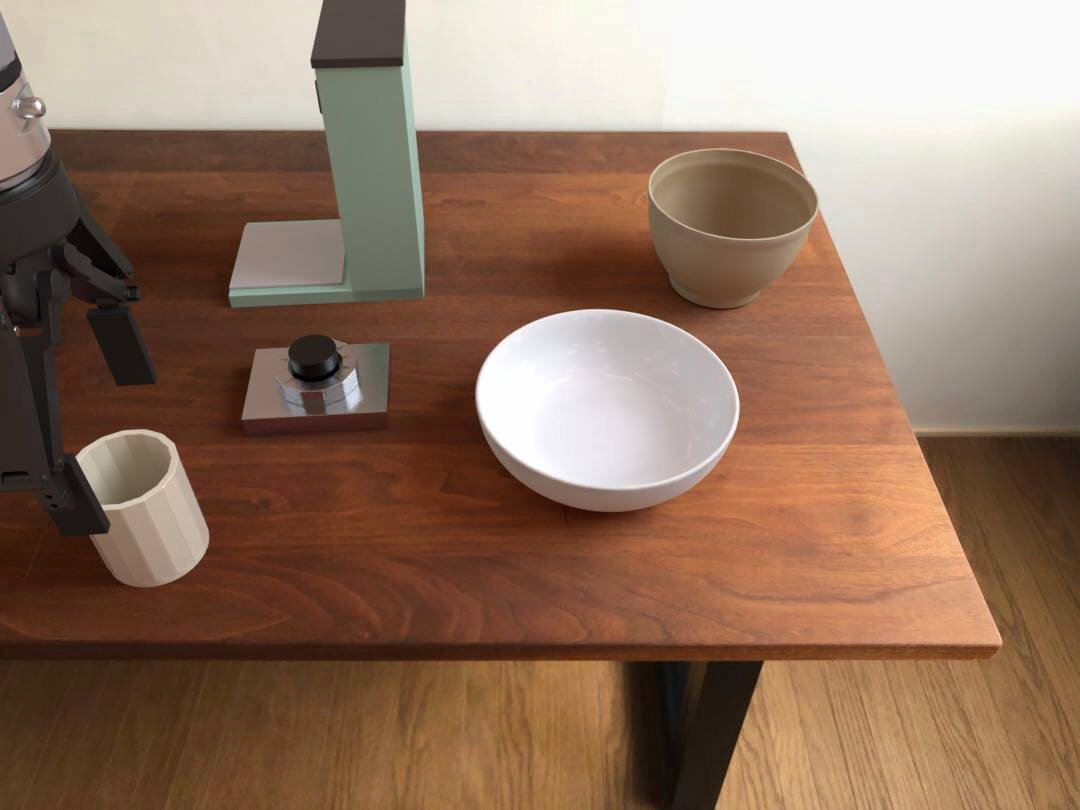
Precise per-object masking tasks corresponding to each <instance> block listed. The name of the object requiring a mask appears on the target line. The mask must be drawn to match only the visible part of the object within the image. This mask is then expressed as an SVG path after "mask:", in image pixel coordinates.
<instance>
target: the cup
mask: <svg viewBox="0 0 1080 810" xmlns="http://www.w3.org/2000/svg"><path fill="white" fill-rule="evenodd" d="M75 457H76V459H77V461H78V463H79V465H80V467H81V469H82V471H83V472H84V474H85V476H86V478H87V480H88V482H89V484H90V486H91V488H92V489H93V491H94V493H95V495H96V497H97V499H98V501H99V503H100V505H101V506H102V508H103V510H104V512H105V514H106V516H107V518H108V520H109V522H110V524H111V525H110V528H109V531H108V534H96V535H88V536H89V538H90V540H91V541H92V543H93V545H94V548H95V549H96V550H97V552H98V554H99V556H100V557H101V559H102V561H103V563H104V565H105V567H106V569H108V570H109V571H110V573H111V575H112V576H113V577H114V578H115V579H116V580H117V581H119V582H121V583H122V584H124V585H127V586H129V587H130V586H131V587H133V588H134V587H135V588H154V587H160V586H162V585H166V584H169V583H171V582H174V581H176V580H178V579H180V578H182V577H183V576H185V575H186V574H188V573H189V572H190V571H191V570H193V569H194V568H195V567H196V566H197V565H198V564H199V563H200V561H201V560H202V559H203V557H204V556H205V554H206V551H207V549H208V547H209V543H210V530H209V527H208V524H207V521H206V518H205V515H204V513H203V511H202V508H201V506H200V503H199V501H198V498H197V496H196V493H195V490H194V489H193V486H192V483H191V480H190V478H189V476H188V473H187V471H186V469H185V465H184V464H183V461H182V458H181V456H180V454H179V451H178V449H177V446H176V444H175V442H174V441H172V440H171V439H169V438H168V437H167V436H166V435H165V434H163V433H161V432H157V431H155V430H154V431H153V430H150V429H146V428H139V429H124V430H120V431H117V432H113V433H110V434H107V435H104V436H102V437H100V438H98V439H96V440H94V441H93V442H92V443H90V444H88V445H86V446H85V447H83V448H82V449H81V450H80V451H79V452H78V454H77V455H75Z"/></svg>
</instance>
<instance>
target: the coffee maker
mask: <svg viewBox="0 0 1080 810" xmlns="http://www.w3.org/2000/svg"><path fill="white" fill-rule="evenodd" d="M321 3H322V4H321V9H320V14H319V16H318V17H319V18H318V21H317V22H318V23H317V27H316V32H315V36H314V41H313V45H312V49H311V54H310V59H309V61H310V67H311V69H313V70H314V73H315V80H314V88H315V91H316V98H317V103H318V109H319V114H321V115H322V121H323V127H324V133H325V138H326V144H327V150H328V157H329V162H330V169H331V173H332V180H333V186H334V192H335V198H336V202H337V210H338V215H339V218H336V219H335V218H333V219H309V220H307V219H306V220H284V221H283V220H282V221H262V222H261V221H260V222H257V221H256V222H246V225H244V228H243V232H242V235H241V239H240V244H239V247H238V252H237V255H236V259H235V262H234V267H233V270H232V275H231V279H230V282H229V285H228V288H229V292H228V296H227V297H228V300H229V303H230V307H231V308H233V309H235V308H252V307H253V308H254V307H271V306H272V307H274V306H276V307H277V306H298V305H299V306H300V305H318V304H319V305H321V304H340V303H343V304H344V303H363V302H365V303H366V302H386V301H407V300H408V301H409V300H425V218H424V207H423V196H422V195H423V194H422V185H421V184H422V183H421V175H420V162H419V154H418V153H419V152H418V143H417V141H418V140H417V132H416V131H417V130H416V120H415V119H416V118H415V109H414V99H413V90H412V89H413V88H412V78H411V66H410V65H411V64H410V56H409V45H408V36H407V33H408V32H407V23H406V17H407V16H406V15H407V13H406V11H407V0H322V2H321Z"/></svg>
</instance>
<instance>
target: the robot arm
mask: <svg viewBox="0 0 1080 810" xmlns="http://www.w3.org/2000/svg"><path fill="white" fill-rule="evenodd" d="M46 113H47V106H46V104H45V102H44V100H43V98H41V97H39V96H35V95H34V92H33V90H32V87H31V85H30V82H29V81H28V78H27V75H26V73H25V71H24V68H23V64H22V61H21V60H20V57H19V55H18V53H17V50H16V47H15V44H14V41H13V39H12V37H11V33H10V32H9V29H8V27H7V24H6V21H5V19H4V16H3V14H2V11H0V494H4V493H18V492H19V493H21V492H32V494H33V495H34V497H35V498H36V500H37V502H38V503H39V504H40V505H39V506H40V507H41V509H42V511H44V512H45V513H47V514H48V515H49V517H50V519H51V520H52V522H53V524H54V525H55V527H56V529H57V530H58V532H59V533H60V535H61V537H62V538H65V537H79V536H89V535H96V534H108V531H109V528H110V525H111V524H110V522H109V520H108V518H107V516H106V514H105V512H104V510H103V508H102V506H101V505H100V503H99V501H98V499H97V497H96V495H95V493H94V491H93V489H92V488H91V486H90V484H89V482H88V480H87V478H86V476H85V474H84V472H83V471H82V469H81V467H80V465H79V463H78V461H77V459H76V455H75V453H73V452H70V453H69V452H66V453H65V452H64V442H63V441H64V440H63V430H62V419H61V418H62V417H61V408H60V399H59V398H60V397H59V389H58V377H57V376H58V375H57V365H56V356H55V354H56V351H57V350H59V349H60V348H61V347H62V345H63V341H64V340H63V330H62V329H63V328H62V319H61V316H62V312H63V309H64V305H65V304H66V303H67V302H68V301H69V300H70V298H71V297H74V298H76V299H78V300H81V301H82V302H83V303H87V304H89V305H96V307H95V308H94V307H93V308H88V309H87V312H86V313H85V317H86V319H87V321H88V324H89V326H90V329H91V330H92V331H91V332H92V334H93V335H94V338H95V340H96V342H97V344H98V346H99V349H100V351H101V354H102V356H103V358H104V360H105V362H106V365H107V367H108V369H109V372H110V373H111V377H112V378H113V380H114V383H115V384H116V387H129V386H130V387H131V386H146V385H148V386H149V385H156V384H157V381H158V374H157V372H156V369H155V366H154V364H153V362H152V359H151V357H150V354H149V351H148V350H147V349H148V348H147V346H146V344H145V341H144V339H143V336H142V334H141V332H140V329H139V326H138V324H137V321H136V318H135V316H134V314H133V311H132V309H131V306H128V304H127V303H139V302H140V301H141V298H142V292H141V288H140V286H139V285H138V284H125V280H131V279H132V278H133V273H134V269H133V266H132V264H131V262H130V261H129V259H128V258H127V257H126V256H125V254H123V252H122V251H121V250H120V249H119V247H118V246H117V245H116V243H115V242H114V241H113V240H112V239H111V237H110V236H109V235H108V234H107V232H106V231H105V230H104V229H103V227H102V226H101V225H100V224H99V222H98V221H97V220H96V218H95V217H94V216H93V215H92V214H91V212H90V211H89V210H88V208H87V206H86V205H85V202H84V200H83V198H82V195H81V194H80V191H79V189H78V186H77V185H76V184H75V183H74V182H71V180H70V178H69V175H68V173H67V171H66V168H65V166H64V163H63V162H62V158H61V156H60V153H58V151H57V150H55V148H53V147H52V146H51V143H52V139H51V133H50V132H49V129H48V127H47V124H46V121H45V120H44V116H45V115H46ZM31 329H32V330H33V329H41V332H40V334H38V335H31V336H21V330H31Z"/></svg>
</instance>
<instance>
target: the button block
mask: <svg viewBox="0 0 1080 810" xmlns="http://www.w3.org/2000/svg"><path fill="white" fill-rule="evenodd" d="M330 338H331V337H330ZM331 339H332V340H333V341H334V342H335V344H336V348H337V354H338V359H339V369H338V371H337V372H336V373H335V374H334V375H333V376H332V377H330V378H327V379H325V380H323V381H320V382H304V381H301V380H299V379H297V378H296V377H295V376H294V374H293V372H292V368H291V363H290V359H289V355H288V350H289V347H290V346H291V345H289V346H288V347H269V348H256V349H255V352H254V356H253V361H252V367H251V371H250V376H249V380H248V385H247V389H246V390H247V391H246V395H245V399H244V405H243V410H242V414H241V418H240V419H241V423H242V426H243V429H244V432H245V435H246V438H256V437H257V438H258V437H274V436H275V437H276V436H277V437H278V436H293V435H309V434H311V435H313V434H325V433H327V434H328V433H330V434H331V433H345V432H364V431H380V430H381V431H382V430H389V429H390V416H391V415H390V413H391V388H392V365H393V364H392V363H393V360H392V353H391V344H390V342H371V343H352V344H351V343H350V344H348V343H346V342H344V341H341V340H337V339H335V338H331Z"/></svg>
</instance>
